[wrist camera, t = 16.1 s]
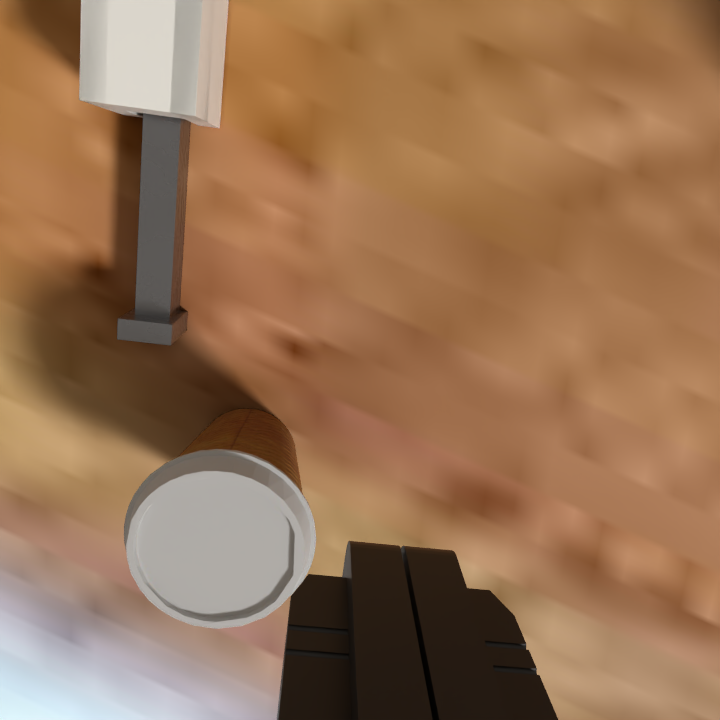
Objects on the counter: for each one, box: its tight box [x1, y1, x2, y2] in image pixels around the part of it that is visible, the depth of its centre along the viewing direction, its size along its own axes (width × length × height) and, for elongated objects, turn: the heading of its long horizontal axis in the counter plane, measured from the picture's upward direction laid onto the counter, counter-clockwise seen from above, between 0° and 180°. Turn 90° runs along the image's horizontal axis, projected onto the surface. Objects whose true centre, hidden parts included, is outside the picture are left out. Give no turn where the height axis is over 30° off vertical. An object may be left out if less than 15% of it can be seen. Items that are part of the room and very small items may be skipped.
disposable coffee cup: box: [124, 409, 316, 629], centre depth 37 cm, size 10×10×12 cm
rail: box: [117, 113, 191, 345], centre depth 36 cm, size 3×20×4 cm, turn 173°
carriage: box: [79, 0, 229, 128], centre depth 33 cm, size 5×7×7 cm
